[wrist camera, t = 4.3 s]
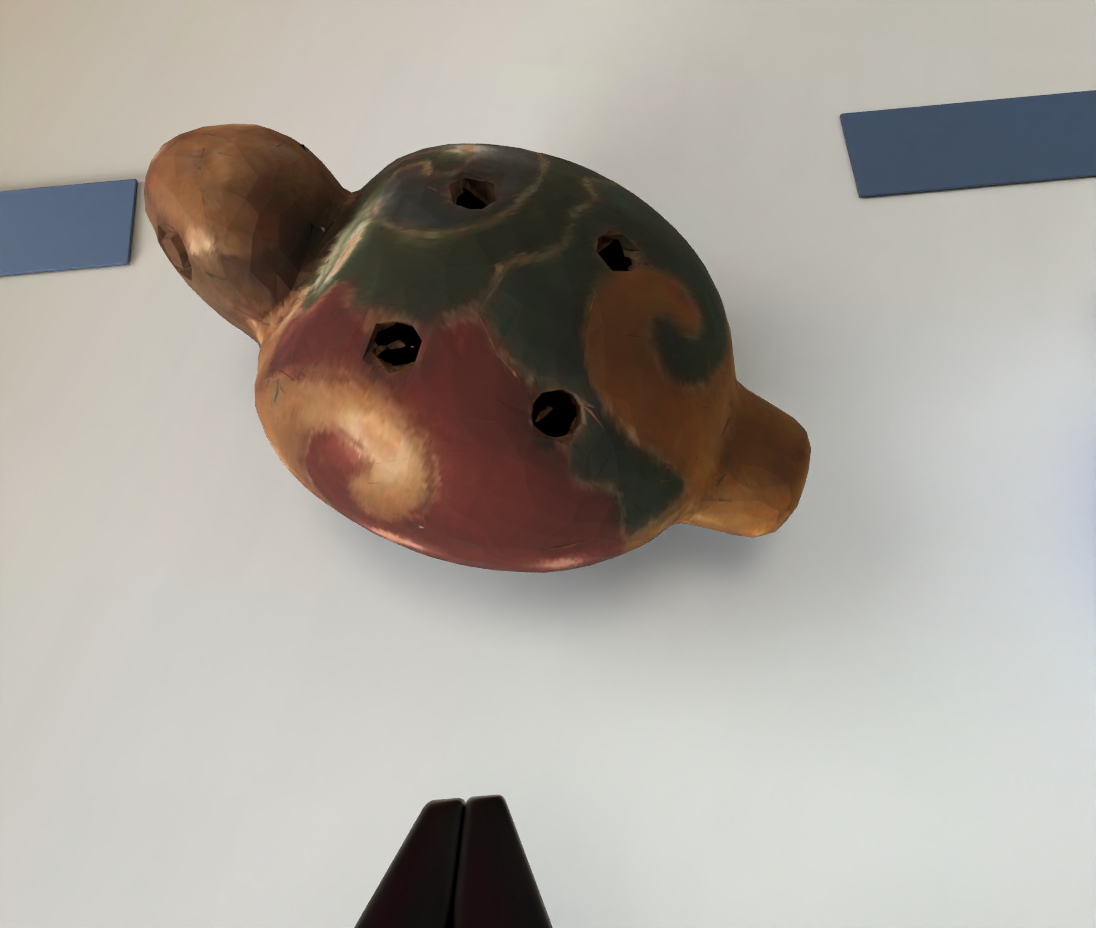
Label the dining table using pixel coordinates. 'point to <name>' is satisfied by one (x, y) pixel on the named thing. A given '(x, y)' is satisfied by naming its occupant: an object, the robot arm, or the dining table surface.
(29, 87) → the dining table surface
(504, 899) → the robot arm
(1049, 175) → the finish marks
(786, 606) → the dining table surface
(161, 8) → the dining table surface
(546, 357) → the decorative turtle
